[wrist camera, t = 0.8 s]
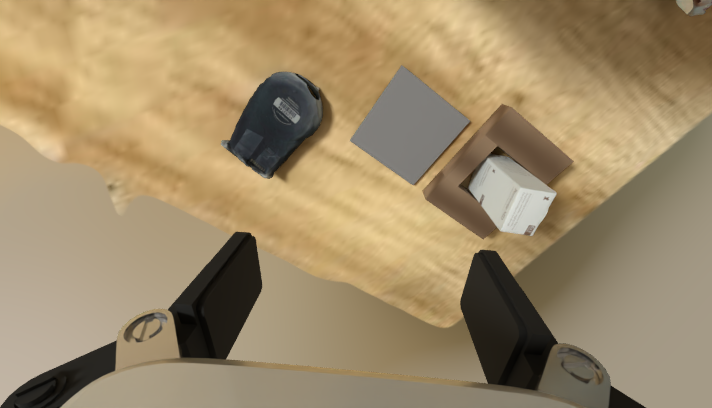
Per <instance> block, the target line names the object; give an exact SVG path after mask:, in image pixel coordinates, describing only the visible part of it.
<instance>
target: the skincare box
mask: <svg viewBox="0 0 712 408" xmlns="http://www.w3.org/2000/svg"><path fill="white" fill-rule="evenodd" d="M468 188H469V190H470V191H471V192H472V194H473V195H474V197H475V198H476V199H477V201H478V202H479V203H480V205H481V206H482V207H483V209H484V210H485V211H486V213H487V214H488V215H489V217H490V218H491V219H492V221H493V222H494V224H495V225H496V226H497V228H498V229H499V230H500V231H502V232H509V233H516V234H523V235H529V236H533V234H534V232H535V231H536V229H537V227H538V225H539V224H540V223H541V222H542V220H543V219H544V217H545V216H546V214H547V212H548V208H549V206H550V205H551V203H552V201H553V199H554V198H555V196H556V194H557V193H556V192H555V191H554V190H552V189H551V188H550V187H548V186H547V185H546V184H544V183H543V182H542V181H540V180H539V179H538V178H536V177H535V176H534V175H532V174H531V173H530V172H528V171H527V170H525V169H524V168H523V167H521V166H520V165H519V164H517V163H516V162H515V161H513V160H512V159H511V158H509V157H506V156H500V155H494V154H489V155H488V156H487V157H486V158H485V159H484V160H483V161H482V162H481V163H480V164H479V165H478V166H477V167H476V168H475V169H474V172H473V174H472V177H471V180H470V183H469V187H468Z"/></svg>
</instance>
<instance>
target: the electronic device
mask: <svg viewBox="0 0 712 408" xmlns="http://www.w3.org/2000/svg"><path fill="white" fill-rule="evenodd" d="M307 86H309V88H310V89H311V90H312V91H313V93H314V95H315V96H316V99H315V98H314V97H313V96H312V95H311V93H310V91H309V90H308V87H307ZM318 91H319V88H318V87H315V86H314V85H313V84H312V83H311V82H310V81H308V80H307V79H306V78H304V77H303V76H301V75H299V74H296V73H291V72H277V73H274V74H272V75H271V77H269V78H267V79H266V80H265V82H264V83H262V84H260V85H259V87H258V88H257V90H256V91H255V93H254V94H253V96H252V97H251V98H250V100H249V102H248V104H247V106H246V108H245V109H244V111H243V113H242V115H241V117H240V119H239V121H238V123H237V125H236V128H235V130H234V132H233V134H232V137H231V140H222V141H221V142H222V143H221V145H222V146H223V147H224V148H226V149H227V150H228V151H230V152H231V153H232V154H233V155H235V156H236V157H238V158H239V160H241V161H242V162H243V163H244V164H245V165H246V166H248V167H249V166H250V167H251V168H252V170H253V171H255V172H257V173H258V174H260V175H261V176H262V177H264V178H268V179H270V178H272V177H273V175H274V172H275V171H276V170H277V169H278V168H279V167H280V166H281V165H282V164H283V163H284V162H285V161H286V160H287V159H288V157H289V156H290V155H291V154H292V153H293V152H294V151H295V149H297V147H298V146H299V145H300V144H301V143H302V142H303V141H304V140H305V139H306V138H308V137H310V136H311V135H313V134H314V132H315V131H316V130H317V129H318V127H319V126H320V123H321V121H322V115H323V107H322V102H321V98H320V95H319V92H318Z"/></svg>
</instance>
